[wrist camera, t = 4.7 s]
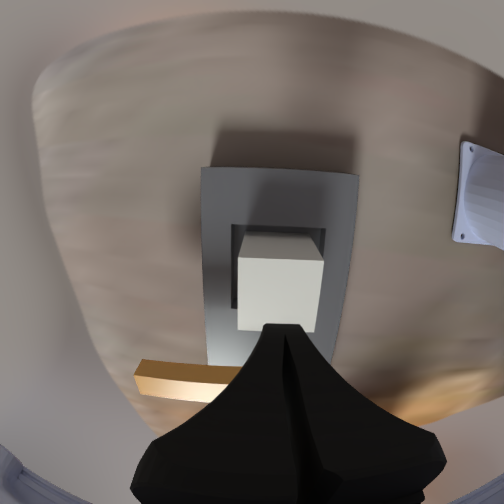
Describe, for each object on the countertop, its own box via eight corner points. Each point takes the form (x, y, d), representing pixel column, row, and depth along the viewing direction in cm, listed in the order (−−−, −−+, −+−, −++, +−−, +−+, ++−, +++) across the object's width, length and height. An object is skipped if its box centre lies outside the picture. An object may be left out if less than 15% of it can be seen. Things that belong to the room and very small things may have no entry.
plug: (308, 233, 18) (324, 260, 13) (303, 291, 19) (314, 332, 14) (245, 231, 18) (238, 257, 13) (244, 288, 19) (237, 330, 14)
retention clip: (141, 355, 15) (132, 371, 13) (292, 362, 14) (294, 380, 13) (149, 381, 16) (142, 397, 14) (290, 388, 15) (292, 407, 14)
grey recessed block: (347, 173, 17) (382, 179, 11) (309, 410, 24) (315, 459, 18) (209, 166, 18) (183, 169, 12) (218, 407, 24) (209, 456, 19)
